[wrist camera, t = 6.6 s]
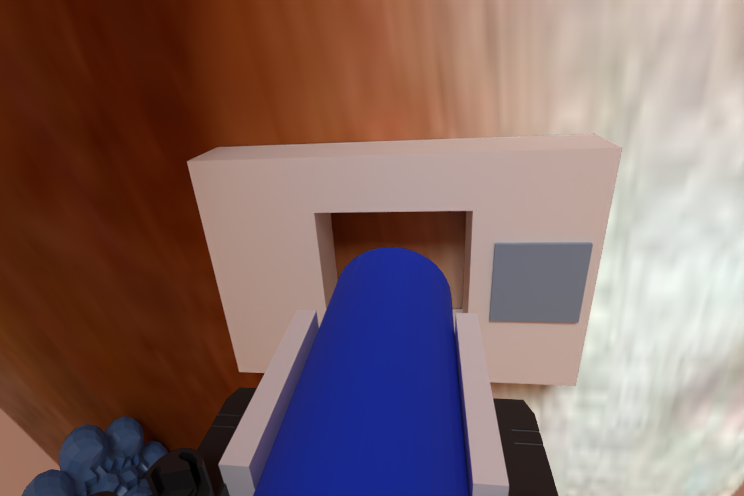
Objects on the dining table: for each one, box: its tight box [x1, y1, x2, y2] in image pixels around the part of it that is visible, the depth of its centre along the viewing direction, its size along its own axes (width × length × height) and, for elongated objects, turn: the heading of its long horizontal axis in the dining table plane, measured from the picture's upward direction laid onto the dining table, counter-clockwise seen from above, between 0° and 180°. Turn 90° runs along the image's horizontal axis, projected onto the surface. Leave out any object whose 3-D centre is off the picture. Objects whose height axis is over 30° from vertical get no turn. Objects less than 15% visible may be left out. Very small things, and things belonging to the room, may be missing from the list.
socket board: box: [187, 134, 622, 386], centre depth 21 cm, size 12×18×3 cm, turn 93°
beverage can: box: [253, 247, 469, 496], centre depth 12 cm, size 5×5×15 cm
